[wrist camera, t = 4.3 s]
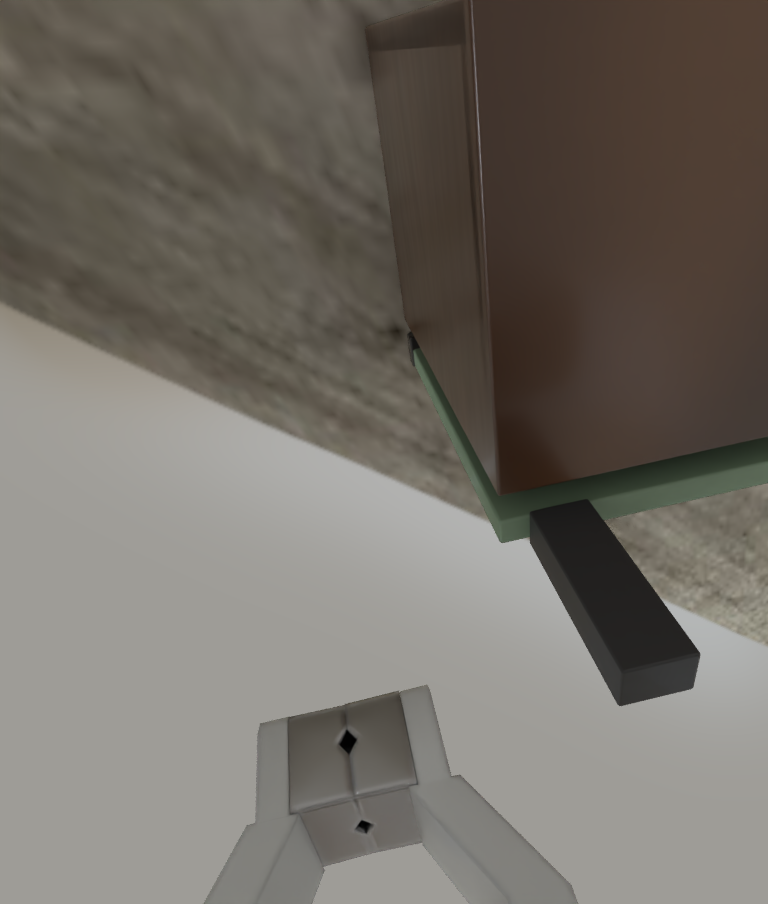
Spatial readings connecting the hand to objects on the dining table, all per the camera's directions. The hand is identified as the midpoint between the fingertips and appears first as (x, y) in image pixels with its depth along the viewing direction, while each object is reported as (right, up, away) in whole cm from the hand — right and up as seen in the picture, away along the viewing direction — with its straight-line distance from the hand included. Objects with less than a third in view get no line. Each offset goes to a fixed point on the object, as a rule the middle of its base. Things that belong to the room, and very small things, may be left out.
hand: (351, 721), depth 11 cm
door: (+5, +10, +13) cm, 17 cm away
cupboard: (+8, +15, +10) cm, 19 cm away
